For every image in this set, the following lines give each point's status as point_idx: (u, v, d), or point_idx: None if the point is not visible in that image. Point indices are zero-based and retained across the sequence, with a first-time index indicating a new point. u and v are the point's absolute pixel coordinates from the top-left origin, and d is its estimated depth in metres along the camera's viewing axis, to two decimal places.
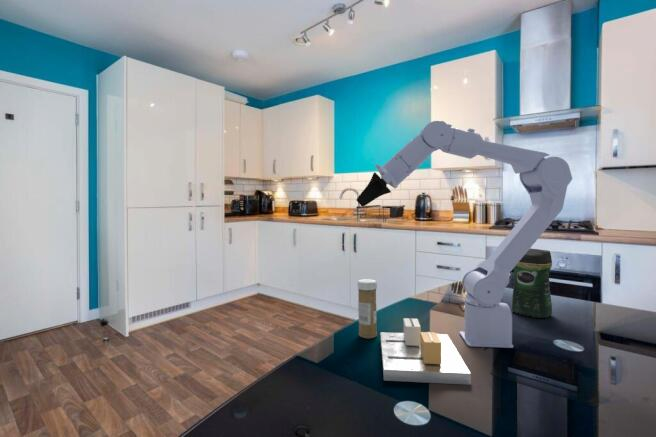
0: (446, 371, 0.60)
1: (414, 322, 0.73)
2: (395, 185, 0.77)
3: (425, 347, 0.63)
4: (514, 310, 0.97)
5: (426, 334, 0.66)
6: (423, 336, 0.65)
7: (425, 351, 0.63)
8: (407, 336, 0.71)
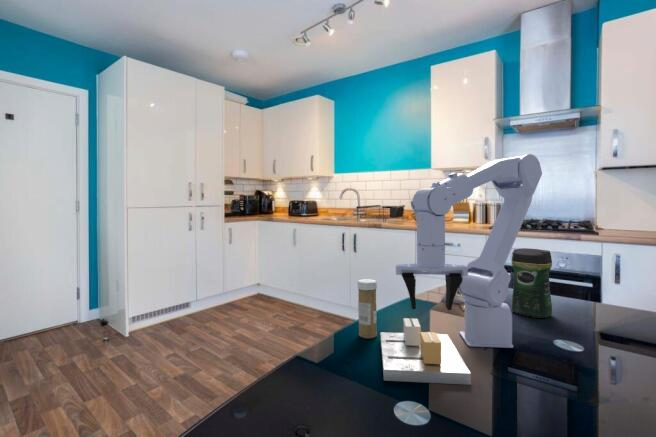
0: (446, 371, 0.60)
1: (414, 322, 0.73)
2: None
3: (425, 347, 0.63)
4: (514, 310, 0.97)
5: (426, 334, 0.66)
6: (423, 336, 0.65)
7: (425, 351, 0.63)
8: (407, 336, 0.71)
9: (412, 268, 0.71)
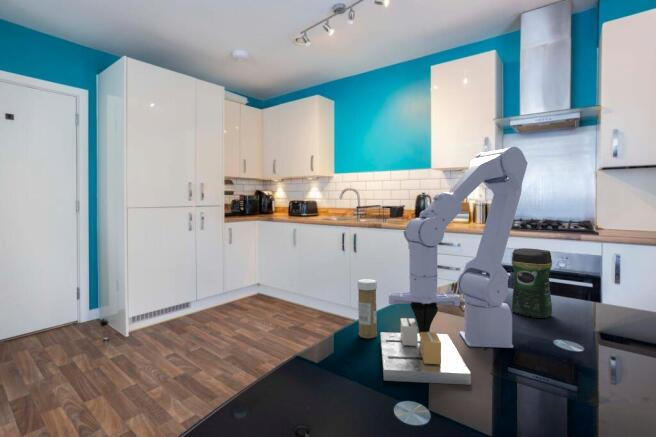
0: (446, 371, 0.60)
1: (411, 322, 0.73)
2: None
3: (425, 347, 0.63)
4: (514, 310, 0.97)
5: (426, 334, 0.66)
6: (423, 336, 0.65)
7: (425, 351, 0.63)
8: (404, 336, 0.71)
9: (404, 298, 0.71)
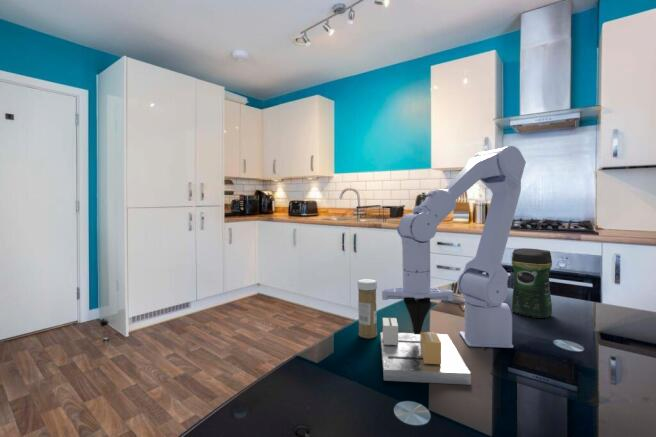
0: (446, 371, 0.60)
1: (392, 321, 0.74)
2: None
3: (425, 347, 0.63)
4: (514, 310, 0.97)
5: (426, 334, 0.66)
6: (423, 336, 0.65)
7: (425, 351, 0.63)
8: (385, 335, 0.72)
9: (398, 293, 0.72)
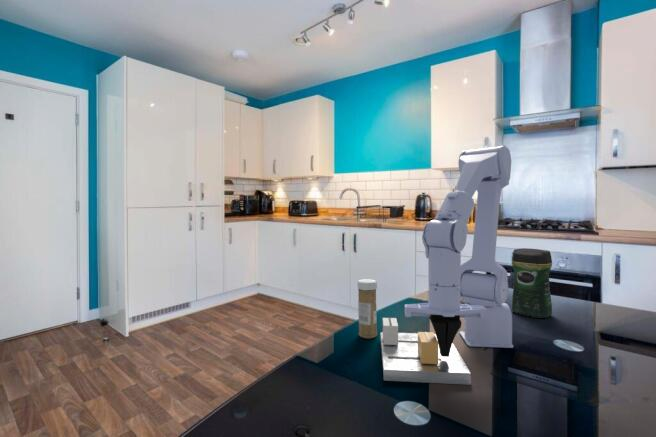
0: (446, 371, 0.60)
1: (392, 321, 0.74)
2: None
3: (422, 347, 0.63)
4: (514, 310, 0.97)
5: (423, 334, 0.66)
6: (420, 336, 0.65)
7: (422, 351, 0.63)
8: (385, 335, 0.72)
9: (423, 310, 0.63)
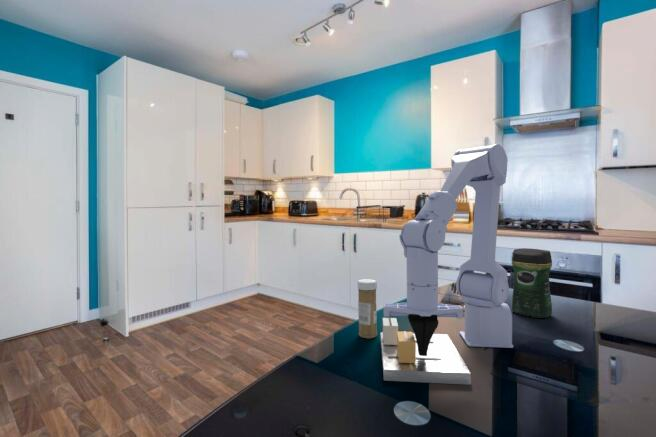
0: (446, 371, 0.60)
1: (392, 321, 0.74)
2: None
3: (400, 346, 0.63)
4: (514, 310, 0.97)
5: (402, 333, 0.67)
6: (399, 335, 0.66)
7: (400, 350, 0.63)
8: (385, 335, 0.72)
9: (401, 310, 0.64)
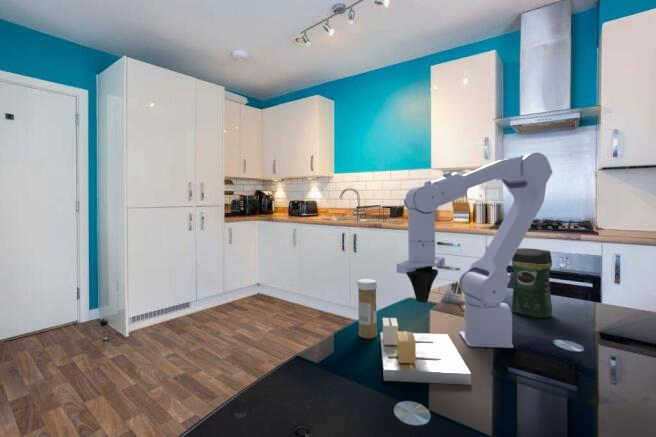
0: (446, 371, 0.60)
1: (392, 321, 0.74)
2: None
3: (400, 346, 0.63)
4: (514, 310, 0.97)
5: (402, 333, 0.67)
6: (399, 335, 0.66)
7: (400, 350, 0.63)
8: (385, 335, 0.72)
9: (416, 265, 0.72)
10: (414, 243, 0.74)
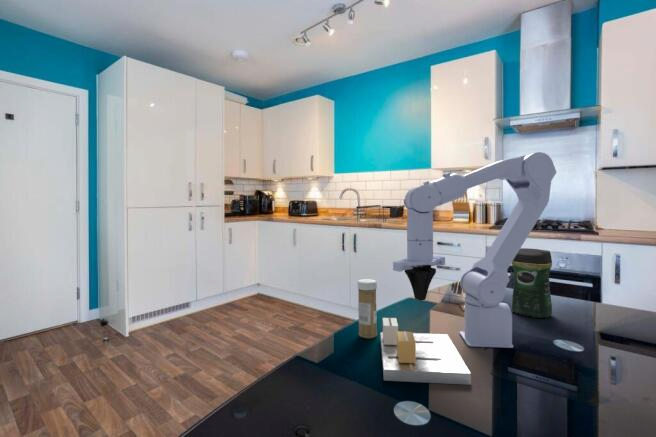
0: (446, 371, 0.60)
1: (392, 321, 0.74)
2: None
3: (400, 346, 0.63)
4: (514, 310, 0.97)
5: (402, 333, 0.67)
6: (399, 335, 0.66)
7: (400, 350, 0.63)
8: (385, 335, 0.72)
9: (412, 263, 0.74)
10: (411, 242, 0.76)
